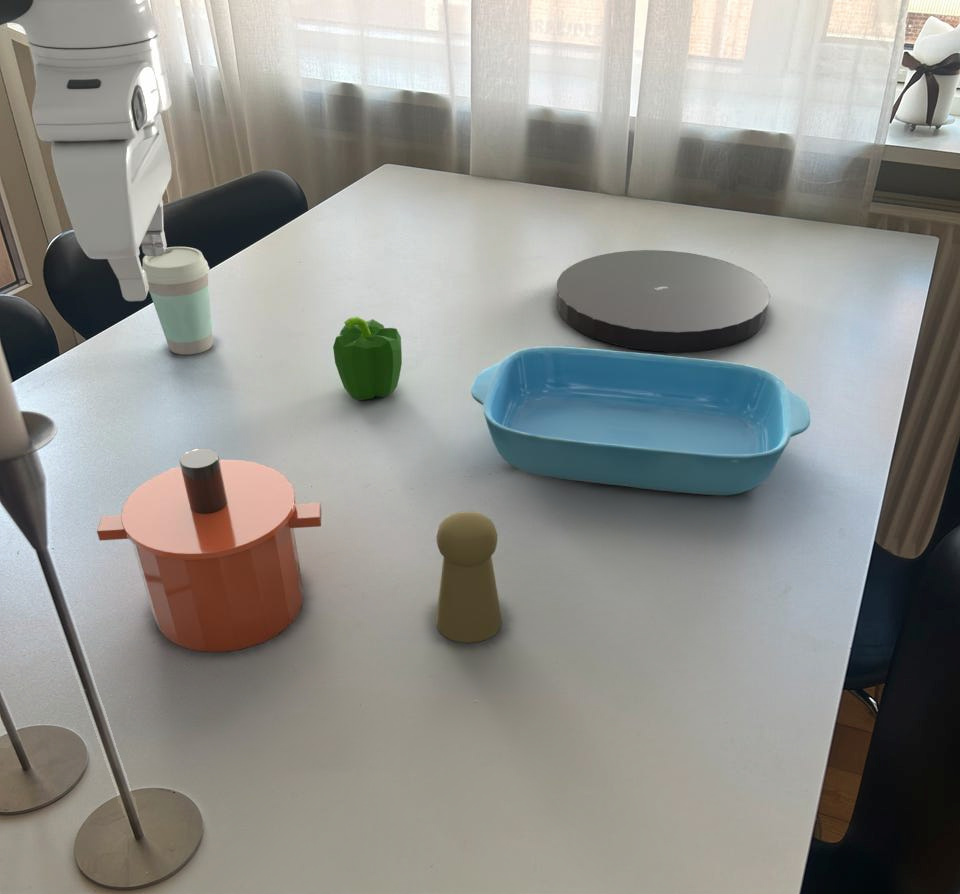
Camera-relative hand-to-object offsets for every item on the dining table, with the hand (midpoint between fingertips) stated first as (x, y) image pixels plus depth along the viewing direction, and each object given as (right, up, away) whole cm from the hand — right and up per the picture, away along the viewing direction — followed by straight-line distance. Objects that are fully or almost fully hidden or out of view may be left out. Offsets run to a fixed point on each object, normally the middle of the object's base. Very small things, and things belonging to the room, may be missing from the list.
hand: (146, 274), depth 81 cm
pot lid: (+4, -18, +6) cm, 19 cm away
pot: (+3, -26, +13) cm, 29 cm away
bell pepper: (+13, +1, +45) cm, 47 cm away
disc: (+53, +18, +63) cm, 85 cm away
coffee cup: (-12, +10, +55) cm, 57 cm away
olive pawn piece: (+26, -28, +11) cm, 40 cm away
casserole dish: (+44, -8, +33) cm, 56 cm away
